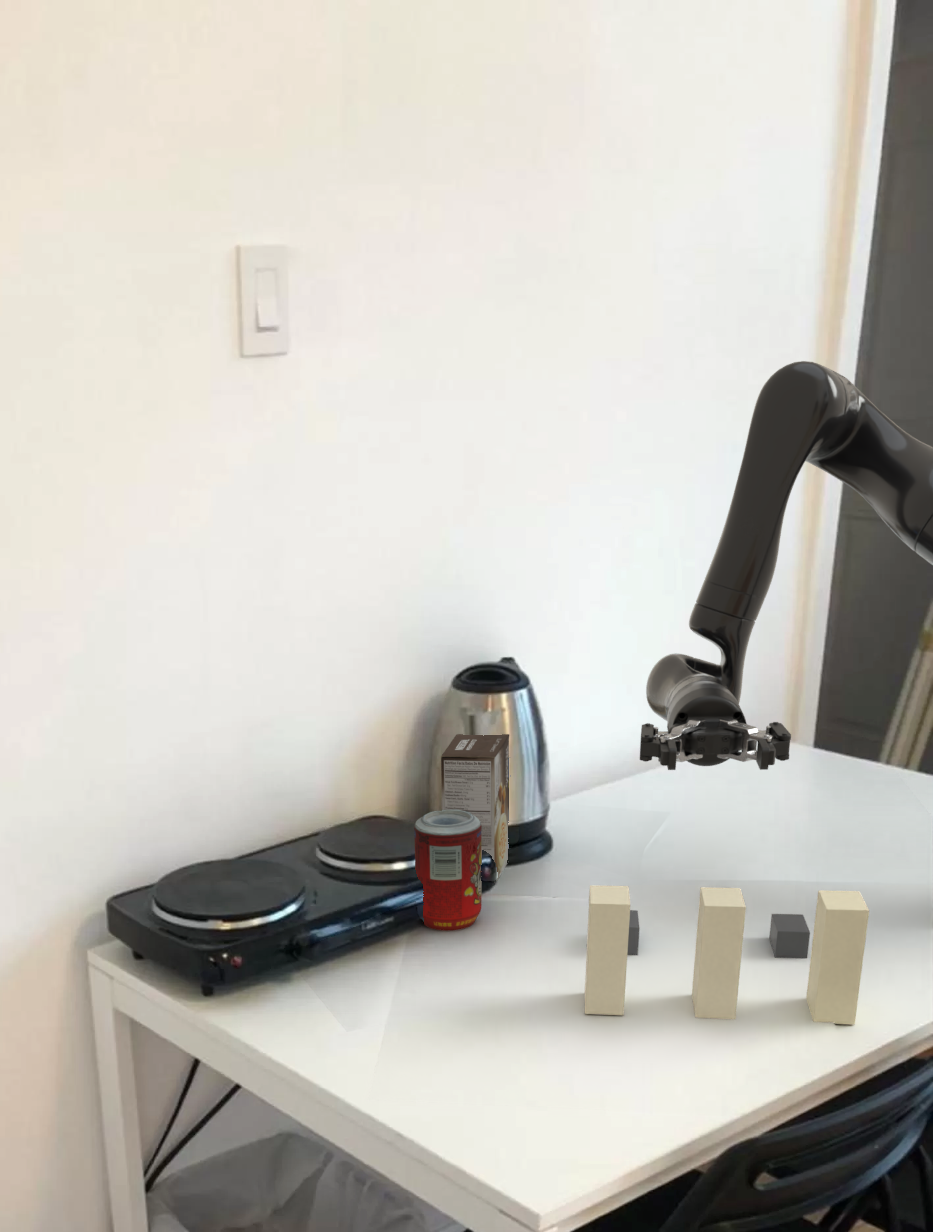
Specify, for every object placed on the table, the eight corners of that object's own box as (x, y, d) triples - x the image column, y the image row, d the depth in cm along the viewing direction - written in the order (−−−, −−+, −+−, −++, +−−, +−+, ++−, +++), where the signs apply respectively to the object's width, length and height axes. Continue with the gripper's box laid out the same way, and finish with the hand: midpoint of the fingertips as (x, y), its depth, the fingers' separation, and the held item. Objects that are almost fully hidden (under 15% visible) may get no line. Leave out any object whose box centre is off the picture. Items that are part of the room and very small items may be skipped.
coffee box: (456, 860, 181) (455, 732, 174) (509, 863, 179) (510, 733, 172) (441, 888, 173) (439, 754, 167) (496, 891, 171) (497, 756, 164)
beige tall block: (845, 1002, 138) (859, 890, 134) (854, 1025, 134) (869, 910, 129) (805, 1001, 139) (818, 890, 135) (813, 1023, 134) (826, 909, 130)
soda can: (487, 933, 159) (486, 824, 154) (420, 938, 159) (417, 830, 154) (476, 909, 165) (475, 803, 160) (412, 913, 166) (409, 808, 161)
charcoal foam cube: (799, 946, 151) (803, 914, 150) (806, 965, 147) (810, 932, 145) (768, 945, 152) (771, 913, 150) (774, 964, 147) (777, 931, 146)
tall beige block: (730, 997, 141) (740, 888, 136) (735, 1019, 136) (746, 906, 132) (691, 996, 141) (700, 887, 137) (695, 1018, 137) (704, 905, 133)
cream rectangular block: (622, 994, 143) (628, 885, 138) (623, 1015, 138) (630, 904, 134) (584, 992, 144) (589, 885, 139) (584, 1014, 139) (590, 903, 135)
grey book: (635, 941, 155) (637, 910, 153) (637, 959, 150) (639, 927, 149) (605, 940, 155) (607, 909, 154) (606, 958, 151) (608, 926, 150)
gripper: (637, 688, 159) (644, 722, 145) (779, 685, 156) (800, 720, 141) (634, 756, 162) (640, 797, 147) (773, 756, 159) (793, 797, 144)
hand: (718, 759), depth 144 cm, fingers open, 8 cm apart
